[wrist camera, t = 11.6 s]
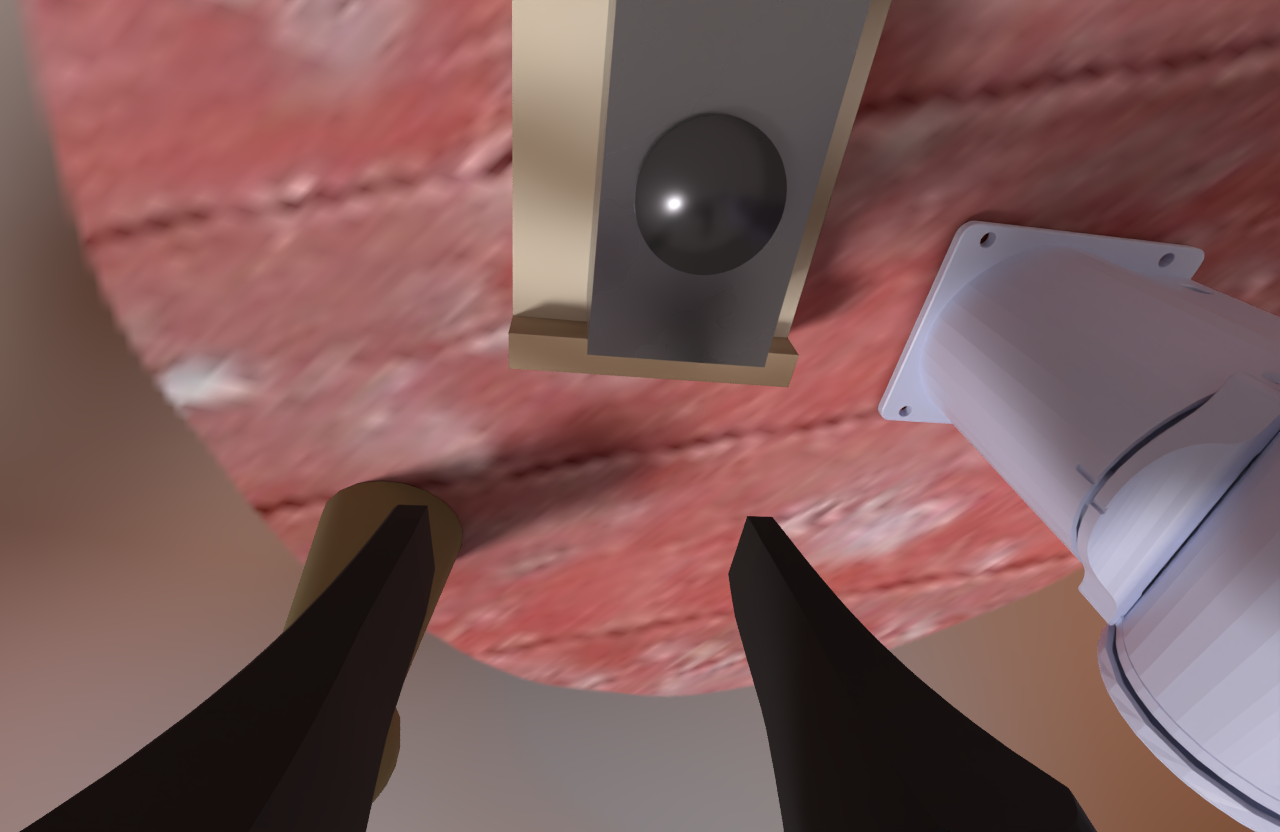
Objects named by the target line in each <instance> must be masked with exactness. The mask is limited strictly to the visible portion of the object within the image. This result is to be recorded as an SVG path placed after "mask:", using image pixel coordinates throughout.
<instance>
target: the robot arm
mask: <svg viewBox="0 0 1280 832" xmlns="http://www.w3.org/2000/svg"><path fill="white" fill-rule="evenodd" d="M987 233H989V236H988V238H987V240H986V241H985V242H983V243H982V244H980V241H981V238H982V237H983V236H984V235H985V234H987ZM1204 255H1205V254H1204V252H1203V250H1201V249H1199V248H1196V247H1193V246H1188V245H1179V244H1171V243H1162V242H1154V241H1145V240H1137V239H1128V238H1120V237H1111V236H1103V235H1094V234H1086V233H1077V232H1069V231H1060V230H1052V229H1043V228H1035V227H1026V226H1018V225H1009V224H1001V223H992V222H984V221H969V222H967V223H965V224H963V225H962V226H961V227H960V228H959V229H958V230H957V232H956V234H955V236H954V238H953V240H952V242H951V245H950V247H949V249H948V251H947V254H946V256H945V258H944V260H943V263H942V265H941V267H940V269H939V272H938V274H937V276H936V278H935V280H934V283H933V285H932V287H931V289H930V292H929V294H928V296H927V298H926V301H925V303H924V305H923V307H922V310H921V312H920V314H919V316H918V319H917V321H916V323H915V325H914V328H913V330H912V332H911V334H910V337H909V339H908V341H907V343H906V345H905V348H904V350H903V352H902V354H901V357H900V359H899V361H898V363H897V366H896V368H895V370H894V372H893V375H892V377H891V379H890V381H889V384H888V386H887V388H886V390H885V393H884V395H883V397H882V399H881V401H880V404H879V407H878V411H879V413H880V414H881V416H882V417H883V418H884V419H887V420H898V421H915V422H931V423H948V424H953V425H954V426H955V427H956V428H957V429H958V430H959V431H960V432H961V433H962V434H963V435H964V436H965V438H966V439H967V440H968V441H969V442H970V443H971V444H972V445H973V446H974V447H975V448H976V449H977V450H978V452H979V453H980V454H981V455H982V456H983V457H984V458H985V459H986V460H987V461H988V462H989V463H990V465H991V466H992V467H993V468H994V469H995V470H996V471H997V472H998V473H999V474H1000V475H1001V476H1002V478H1003V479H1004V480H1005V481H1006V482H1007V483H1008V484H1009V485H1010V486H1011V487H1012V488H1013V489H1014V491H1015V492H1016V493H1017V494H1018V495H1019V496H1020V497H1021V498H1022V499H1023V500H1024V501H1025V502H1026V504H1027V505H1028V506H1029V507H1030V508H1031V509H1032V510H1033V511H1034V512H1035V513H1036V514H1037V515H1038V517H1039V518H1040V519H1041V520H1042V521H1043V522H1044V523H1045V524H1046V525H1047V526H1048V527H1049V528H1050V529H1051V531H1052V532H1053V533H1054V534H1055V535H1056V536H1057V537H1058V538H1059V539H1060V540H1061V541H1062V542H1063V544H1064V545H1065V546H1066V547H1067V548H1068V549H1069V550H1070V551H1071V552H1072V553H1073V554H1074V555H1075V557H1076V558H1077V559H1078V560H1079V561H1080V562H1081V563H1083V566H1084V568H1085V576H1084V579H1083V581H1082V582H1081V584H1080V586H1079V591H1080V592H1081V593H1082V594H1083V595H1084V597H1085V598H1086V599H1087V600H1088V601H1089V602H1090V603H1091V604H1092V606H1093V607H1094V608H1095V609H1096V610H1097V611H1098V613H1099V614H1100V615H1101V616H1102V617H1103V618H1104V619H1105V620H1106V622H1107V625H1106V626H1105V627H1104V629H1103V630H1102V633H1101V636H1100V639H1099V642H1098V663H1099V668H1100V673H1101V676H1102V679H1103V681H1104V683H1105V686H1106V688H1107V691H1108V693H1109V695H1110V696H1111V698H1112V700H1113V702H1114V704H1115V705H1116V707H1117V709H1118V710H1119V712H1120V714H1121V715H1122V716H1123V718H1124V719H1125V720H1126V722H1127V723H1128V724H1129V726H1130V727H1131V728H1132V730H1133V731H1134V732H1135V734H1136V735H1137V736H1138V737H1139V738H1140V739H1141V741H1142V742H1143V743H1144V744H1145V745H1146V746H1147V747H1148V748H1149V749H1150V751H1151V752H1153V754H1154V755H1155V756H1156V757H1157V758H1158V759H1159V760H1160V761H1161V762H1162V763H1164V765H1166V766H1167V767H1168V768H1169V769H1170V770H1171V771H1172V772H1173V773H1174V774H1175V775H1176V776H1177V777H1178V778H1179V779H1181V780H1182V781H1183V782H1184V783H1186V784H1187V785H1188V786H1189V787H1191V788H1192V789H1193V790H1194V791H1196V792H1197V793H1198V794H1199V795H1201V796H1202V797H1203V798H1204V799H1206V800H1207V801H1208V802H1210V803H1211V804H1213V805H1214V806H1216V807H1217V808H1219V809H1220V810H1222V811H1223V812H1224V813H1226V814H1227V815H1229V816H1230V817H1232V818H1233V819H1235V820H1236V821H1238V822H1239V823H1241V824H1243V825H1245V826H1246V827H1248V828H1250V829H1252V830H1253V831H1256V832H1280V317H1279V316H1276V315H1274V314H1271V313H1269V312H1267V311H1264V310H1262V309H1259V308H1257V307H1255V306H1252V305H1250V304H1248V303H1245V302H1243V301H1240V300H1238V299H1236V298H1233V297H1231V296H1228V295H1226V294H1224V293H1221V292H1219V291H1217V290H1214V289H1212V288H1209V287H1207V286H1205V285H1202V284H1200V283H1197V282H1195V281H1193V280H1190V279H1191V278H1192V276H1193V275H1194V274H1195V272H1196V271H1197V269H1198V268H1199V267H1200V265H1201V264H1202V262H1203V260H1204ZM1163 256H1164V257H1163ZM1162 257H1163V258H1162ZM1161 258H1162V259H1161ZM1160 259H1161V260H1160ZM904 406H907V407H906V408H905V409H904V410H902V411H900V409H901V408H903V407H904ZM434 572H435V562H434V554H433V546H432V538H431V530H430V521H429V513H428V506H427V505H397V506H396V507H394V508H393V509H392V511H391V512H390V513H389V515H388V516H387V517H386V518H385V520H384V521H383V522H382V524H381V525H380V526H379V527H378V529H377V530H376V531H375V532H374V534H373V535H372V536H371V537H370V539H369V540H368V541H367V542H366V544H365V545H364V546H363V547H362V548H361V550H360V551H359V552H358V553H357V554H356V556H355V557H354V558H353V559H352V560H351V561H350V562H349V564H348V565H347V566H346V567H345V568H344V569H343V570H342V571H341V573H340V574H339V575H338V576H337V577H336V578H335V579H334V581H333V582H332V583H331V584H330V585H329V586H328V587H327V588H326V589H325V590H324V592H323V593H322V594H321V595H320V596H319V597H318V598H317V599H316V600H315V601H314V602H313V603H312V604H311V605H310V606H309V607H308V608H307V609H306V610H305V611H304V612H303V613H302V614H301V615H300V616H299V617H298V618H297V619H296V620H295V621H294V622H293V623H292V624H291V625H290V626H289V627H288V628H287V629H286V630H285V631H284V632H283V633H282V634H281V635H280V636H279V637H278V638H277V639H276V640H275V641H274V642H273V643H272V644H270V646H268V647H267V648H266V649H265V650H264V651H263V652H262V653H261V654H260V655H258V656H257V657H256V658H255V659H254V660H253V661H252V662H251V663H249V664H248V665H247V666H246V667H245V668H244V669H243V670H242V671H240V672H239V673H238V674H237V675H235V676H234V677H233V678H232V679H231V680H230V681H228V682H227V683H226V684H225V685H223V686H222V687H221V688H220V689H219V690H218V691H217V692H215V693H214V694H213V695H212V696H210V697H209V698H208V699H207V700H205V701H204V702H203V703H202V704H200V705H199V706H198V707H197V708H196V709H194V710H193V711H192V712H191V713H189V714H188V715H187V716H185V717H184V718H183V719H181V720H180V721H179V722H177V723H176V724H174V725H173V726H172V727H170V728H169V729H168V730H166V731H165V732H164V733H162V734H161V735H160V736H158V737H157V738H156V739H154V740H153V741H152V742H150V743H149V744H147V745H146V746H145V747H143V748H142V749H141V750H139V751H138V752H137V753H135V754H134V755H133V756H131V757H130V758H129V759H127V760H126V761H124V762H123V763H122V764H120V765H119V766H117V767H116V768H115V769H113V770H112V771H110V772H109V773H107V774H106V775H105V776H103V777H102V778H100V779H98V780H97V781H95V782H94V783H93V784H91V785H89V786H88V787H87V788H85V789H84V790H82V791H80V792H79V793H77V794H76V795H75V796H73V797H72V798H70V799H69V800H67V801H66V802H64V803H63V804H61V805H60V806H58V807H57V808H55V809H54V810H52V811H51V812H49V813H48V814H46V815H45V816H43V817H42V818H40V819H39V820H37V821H35V822H34V823H32V824H31V825H29V826H28V827H26V828H25V829H23V830H21V831H20V832H366V828H367V823H368V819H369V814H370V810H371V805H372V800H373V796H374V791H375V786H376V782H377V778H378V773H379V769H380V765H381V760H382V756H383V751H384V747H385V743H386V738H387V735H388V731H389V728H390V724H391V721H392V717H393V714H394V711H395V708H396V705H397V702H398V699H399V696H400V692H401V689H402V686H403V683H404V680H405V677H406V674H407V671H408V668H409V665H410V662H411V659H412V656H413V653H414V650H415V647H416V644H417V641H418V637H419V634H420V631H421V628H422V625H423V622H424V619H425V616H426V612H427V607H428V603H429V598H430V593H431V588H432V583H433V578H434ZM728 574H729V581H730V588H731V595H732V601H733V607H734V613H735V618H736V622H737V625H738V629H739V632H740V636H741V640H742V643H743V647H744V650H745V654H746V657H747V661H748V664H749V668H750V671H751V675H752V678H753V682H754V685H755V689H756V692H757V696H758V699H759V703H760V706H761V709H762V714H763V718H764V722H765V726H766V730H767V736H768V741H769V746H770V751H771V757H772V762H773V768H774V773H775V779H776V785H777V791H778V797H779V803H780V808H781V815H782V821H783V828H784V832H1097V831H1096V830H1095V828H1094V827H1093V825H1092V823H1091V822H1090V820H1089V819H1088V817H1087V816H1086V814H1085V812H1084V811H1083V809H1082V808H1081V806H1080V805H1079V803H1078V802H1077V800H1076V798H1075V797H1074V795H1073V794H1072V793H1071V791H1070V790H1069V788H1067V787H1066V786H1065V785H1063V784H1061V783H1060V782H1059V781H1057V780H1056V779H1054V778H1052V777H1051V776H1050V775H1048V774H1047V773H1045V772H1044V771H1042V770H1040V769H1039V768H1038V767H1036V766H1035V765H1033V764H1032V763H1030V762H1028V761H1027V760H1026V759H1024V758H1023V757H1021V756H1020V755H1018V754H1016V753H1015V752H1014V751H1012V750H1011V749H1009V748H1008V747H1006V746H1005V745H1004V744H1002V743H1001V742H1000V741H998V740H997V739H995V738H994V737H993V736H991V735H990V734H989V733H987V732H986V731H985V730H983V729H982V728H980V727H979V726H978V725H976V724H975V723H973V722H972V721H971V720H970V719H969V718H967V717H966V716H964V715H963V714H962V713H961V712H960V711H958V710H957V709H956V708H954V707H953V706H952V705H951V704H949V703H948V702H947V701H946V700H944V699H943V698H942V697H941V696H940V695H939V694H937V693H936V692H935V691H934V690H933V689H931V688H930V687H929V686H928V685H927V684H925V683H924V682H923V681H922V680H921V679H919V678H918V677H917V676H916V675H915V674H914V673H913V672H911V671H910V670H909V669H908V668H907V667H906V666H905V665H904V664H903V663H902V662H901V661H899V660H898V659H897V658H896V657H895V656H894V655H893V654H892V653H891V652H890V651H889V650H888V649H887V648H886V647H885V646H884V645H882V644H881V643H880V642H879V641H878V640H877V639H876V638H875V637H874V636H873V635H872V634H871V633H870V632H869V631H868V630H867V629H866V628H865V626H864V625H863V624H862V623H861V622H860V621H859V620H858V619H857V618H856V617H855V616H854V615H853V614H852V613H851V612H850V610H849V609H848V608H847V607H846V606H845V605H844V604H843V603H842V602H841V600H840V599H839V598H838V597H837V596H836V595H835V594H834V592H833V591H832V590H831V589H830V588H829V587H828V585H827V584H826V583H825V582H824V581H823V579H822V578H821V577H820V576H819V575H818V574H817V572H816V571H815V570H814V569H813V567H812V566H811V565H810V564H809V563H808V561H807V560H806V559H805V558H804V556H803V555H802V554H801V553H800V551H799V550H798V549H797V547H796V546H795V545H794V544H793V542H792V541H791V540H790V539H789V537H788V536H787V535H786V534H785V532H784V531H783V530H782V529H781V527H780V526H779V525H778V524H777V522H776V521H775V520H774V519H773V517H756V516H747V519H746V522H745V525H744V528H743V531H742V534H741V537H740V540H739V543H738V546H737V549H736V552H735V555H734V558H733V561H732V564H731V567H730V570H729V573H728Z"/></svg>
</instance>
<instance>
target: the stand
mask: <svg viewBox="0 0 1280 832" xmlns="http://www.w3.org/2000/svg"><path fill="white" fill-rule="evenodd" d="M891 1H892V0H871V4H870V7H869V10H868V14H867V17H866V21H865V24H864V28H863V31H862V34H861V38H860V41H859V45H858V48H857V52H856V55H855V58H854V62H853V65H852V69H851V72H850V76H849V79H848V82H847V86H846V89H845V93H844V96H843V100H842V103H841V106H840V110H839V113H838V117H837V120H836V124H835V127H834V130H833V134H832V137H831V141H830V144H829V148H828V151H827V154H826V158H825V161H824V165H823V168H822V172H821V175H820V178H819V182H818V185H817V189H816V192H815V196H814V199H813V202H812V206H811V209H810V213H809V216H808V220H807V223H806V226H805V230H804V233H803V237H802V240H801V244H800V247H799V250H798V254H797V257H796V261H795V264H794V268H793V271H792V274H791V278H790V281H789V285H788V288H787V292H786V295H785V299H784V302H783V305H782V309H781V312H780V316H779V319H778V323H777V326H776V329H775V333H774V336H773V340H772V343H771V347H770V350H769V353H768V357H767V360H766V364H765V367H751V366H737V365H723V364H709V363H695V362H681V361H668V360H654V359H640V358H626V357H612V356H598V355H587V281H588V268H589V255H590V242H591V229H592V216H593V203H594V190H595V177H596V163H597V150H598V137H599V124H600V111H601V98H602V85H603V72H604V59H605V45H606V32H607V19H608V6H609V0H512V118H513V318H512V322H511V326H510V330H509V368H512V369H527V370H542V371H556V372H571V373H586V374H601V375H615V376H630V377H645V378H660V379H674V380H689V381H704V382H719V383H733V384H748V385H763V386H778V387H789V384H790V381H791V378H792V375H793V371H794V368H795V365H796V362H797V359H798V356H799V355H798V353H797V352H796V350H795V349H794V347H793V345H792V344H791V342H790V341H789V339H788V335H789V331H790V328H791V325H792V322H793V318H794V315H795V312H796V309H797V306H798V302H799V299H800V296H801V293H802V289H803V286H804V283H805V280H806V276H807V273H808V270H809V267H810V263H811V260H812V257H813V254H814V250H815V247H816V244H817V241H818V237H819V234H820V231H821V228H822V225H823V221H824V218H825V215H826V212H827V208H828V205H829V202H830V199H831V195H832V192H833V189H834V186H835V182H836V179H837V176H838V173H839V169H840V166H841V163H842V160H843V156H844V153H845V150H846V147H847V144H848V140H849V137H850V134H851V131H852V127H853V124H854V121H855V118H856V114H857V111H858V108H859V105H860V101H861V98H862V95H863V92H864V88H865V85H866V82H867V79H868V75H869V72H870V69H871V66H872V62H873V59H874V56H875V53H876V50H877V46H878V43H879V40H880V37H881V33H882V30H883V27H884V24H885V20H886V17H887V14H888V11H889V7H890V4H891Z"/></svg>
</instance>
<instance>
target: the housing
mask: <svg viewBox="0 0 1280 832" xmlns="http://www.w3.org/2000/svg"><path fill="white" fill-rule="evenodd" d="M870 4H871V0H609V6H608V19H607V32H606V45H605V59H604V72H603V85H602V98H601V111H600V124H599V137H598V150H597V163H596V177H595V190H594V203H593V216H592V229H591V242H590V255H589V268H588V281H587V355H598V356H612V357H626V358H640V359H654V360H668V361H681V362H695V363H709V364H723V365H737V366H751V367H765V364H766V360H767V357H768V353H769V350H770V347H771V343H772V340H773V336H774V333H775V329H776V326H777V323H778V319H779V316H780V312H781V309H782V305H783V302H784V299H785V295H786V292H787V288H788V285H789V281H790V278H791V274H792V271H793V268H794V264H795V261H796V257H797V254H798V250H799V247H800V244H801V240H802V237H803V233H804V230H805V226H806V223H807V220H808V216H809V213H810V209H811V206H812V202H813V199H814V196H815V192H816V189H817V185H818V182H819V178H820V175H821V172H822V168H823V165H824V161H825V158H826V154H827V151H828V148H829V144H830V141H831V137H832V134H833V130H834V127H835V124H836V120H837V117H838V113H839V110H840V106H841V103H842V100H843V96H844V93H845V89H846V86H847V82H848V79H849V76H850V72H851V69H852V65H853V62H854V58H855V55H856V52H857V48H858V45H859V41H860V38H861V34H862V31H863V28H864V24H865V21H866V17H867V14H868V10H869V7H870Z"/></svg>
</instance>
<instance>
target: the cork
mask: <svg viewBox="0 0 1280 832" xmlns="http://www.w3.org/2000/svg"><path fill="white" fill-rule="evenodd" d="M397 505H427V506H428V513H429V521H430V530H431V538H432V546H433V554H434V562H435V572H434V578H433V583H432V588H431V593H430V598H429V603H428V607H427V612H426V616H425V619H424V622H423V625H422V628H421V631H420V634H419V637H418V641H417V644H416V647H415V650H414V653H413V656H412V659H411V662H410V665H409V668H410V666H411V664H412V661H413V659H414V657H415V654H416V652H417V650H418V647H419V645H420V642H421V640H422V638H423V635H424V633H425V631H426V628H427V626H428V623H429V621H430V619H431V616H432V614H433V612H434V609H435V607H436V605H437V602H438V600H439V597H440V595H441V593H442V590H443V588H444V586H445V583H446V581H447V578H448V576H449V574H450V571H451V569H452V567H453V564H454V562H455V560H456V557H457V555H458V552H459V550H460V548H461V545H462V535H463V530H462V527H461V525H460V522H459V520H458V517H457V515H456V514H455V513H454V512H453V511H452V510H451V509H450V508H449V507H448V505H447V504H446V503H445V502H443V501H442V500H440V499H439V498H437V497H435V496H434V495H432V494H431V493H429V492H427V491H425V490H422V489H419V488H416V487H413V486H410V485H408V484H404V483H396V482H387V481H375V482H366V483H358V484H356V485H353V486H351V487H348V488H346V489H343V490H341V491H339V492H338V493H337V494H336V495H334V496H333V497H332V498H331V499H330V500H329V501H328V502H327V503H326V505H325V508H324V510H323V513H322V515H321V518H320V521H319V524H318V527H317V530H316V533H315V536H314V539H313V542H312V545H311V548H310V551H309V554H308V557H307V560H306V563H305V566H304V569H303V573H302V576H301V579H300V582H299V584H298V588H297V591H296V594H295V597H294V600H293V603H292V606H291V609H290V612H289V615H288V618H287V621H286V624H285V627H284V630H283V632H284V631H285V630H286V629H287V628H288V627H289V626H290V625H291V624H292V623H293V622H294V621H295V620H296V619H297V618H298V617H299V616H300V615H301V614H302V613H303V612H304V611H305V610H306V609H307V608H308V607H309V606H310V605H311V604H312V603H313V602H314V601H315V600H316V599H317V598H318V597H319V596H320V595H321V594H322V593H323V592H324V590H325V589H326V588H327V587H328V586H329V585H330V584H331V583H332V582H333V581H334V579H335V578H336V577H337V576H338V575H339V574H340V573H341V571H342V570H343V569H344V568H345V567H346V566H347V565H348V564H349V562H350V561H351V560H352V559H353V558H354V557H355V556H356V554H357V553H358V552H359V551H360V550H361V548H362V547H363V546H364V545H365V544H366V542H367V541H368V540H369V539H370V537H371V536H372V535H373V534H374V532H375V531H376V530H377V529H378V527H379V526H380V525H381V524H382V522H383V521H384V520H385V518H386V517H387V516H388V515H389V513H390V512H391V511H392V509H393V508H394V507H396V506H397ZM409 668H408V671H409ZM408 671H407V673H408ZM406 676H407V674H406ZM405 678H406V677H405ZM399 749H400V716H399V714H398V711H397V709H396V708H395V711H394V714H393V717H392V721H391V724H390V728H389V731H388V735H387V738H386V743H385V747H384V751H383V756H382V760H381V765H380V769H379V773H378V778H377V782H376V786H375V791H374V796H373V800H372V803H373V802H374V800H375V799H376V798H377V797H378V796H379V794H380V793H381V792H382V790H383V789H384V788H385V786H386V785H387V783H388V781H389V778H390V777H391V775H392V773H393V770H394V768H395V766H396V762H397V758H398V754H399Z"/></svg>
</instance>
